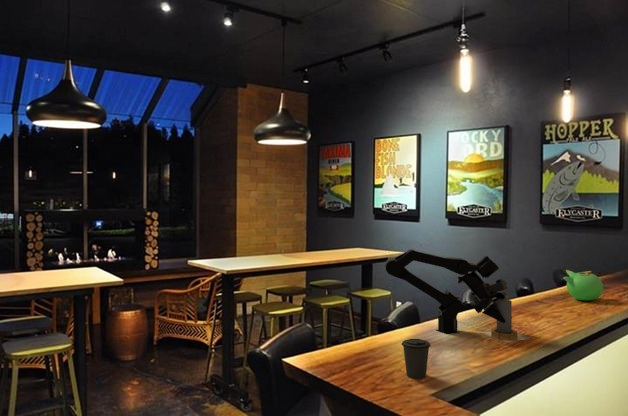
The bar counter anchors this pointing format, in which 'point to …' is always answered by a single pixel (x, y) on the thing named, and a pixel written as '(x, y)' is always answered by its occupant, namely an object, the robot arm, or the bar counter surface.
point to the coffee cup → (416, 357)
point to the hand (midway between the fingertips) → (508, 320)
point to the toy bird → (584, 285)
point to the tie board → (520, 337)
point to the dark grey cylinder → (505, 316)
